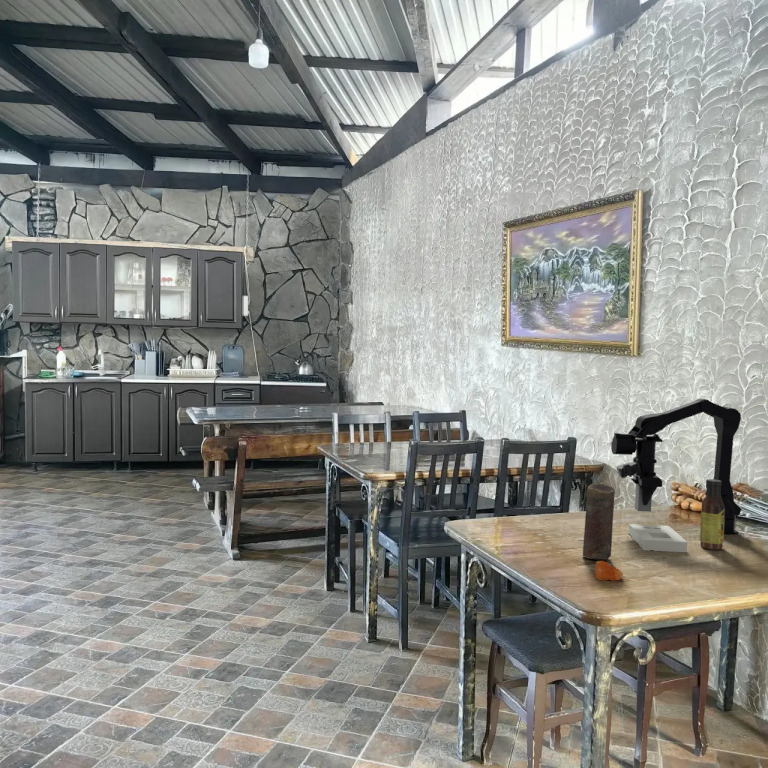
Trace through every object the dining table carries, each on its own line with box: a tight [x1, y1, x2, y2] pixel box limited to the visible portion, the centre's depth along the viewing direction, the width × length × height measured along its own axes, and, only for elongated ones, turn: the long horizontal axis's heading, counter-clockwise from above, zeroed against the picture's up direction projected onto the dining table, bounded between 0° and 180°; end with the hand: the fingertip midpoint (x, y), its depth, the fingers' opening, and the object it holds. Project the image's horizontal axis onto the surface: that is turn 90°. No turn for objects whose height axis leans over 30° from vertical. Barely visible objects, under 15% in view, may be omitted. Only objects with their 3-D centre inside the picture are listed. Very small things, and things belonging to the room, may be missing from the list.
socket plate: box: [627, 523, 688, 553], centre depth 209 cm, size 18×12×3 cm, turn 174°
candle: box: [582, 483, 616, 561], centre depth 191 cm, size 8×7×20 cm
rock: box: [595, 560, 624, 582], centre depth 176 cm, size 12×12×4 cm
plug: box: [634, 484, 653, 513], centre depth 225 cm, size 4×4×8 cm
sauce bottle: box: [699, 478, 725, 551], centre depth 205 cm, size 7×6×20 cm
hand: (643, 503), depth 225 cm, fingers closed on plug, 4 cm apart
